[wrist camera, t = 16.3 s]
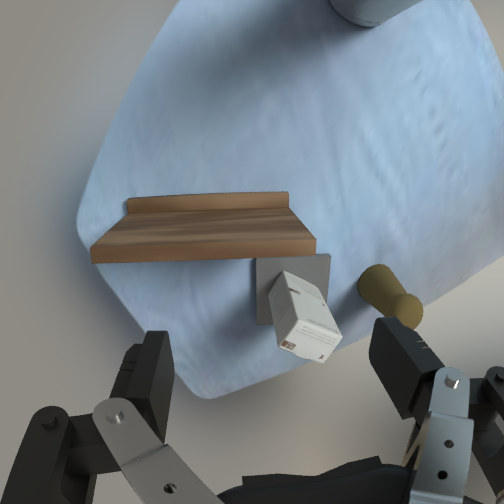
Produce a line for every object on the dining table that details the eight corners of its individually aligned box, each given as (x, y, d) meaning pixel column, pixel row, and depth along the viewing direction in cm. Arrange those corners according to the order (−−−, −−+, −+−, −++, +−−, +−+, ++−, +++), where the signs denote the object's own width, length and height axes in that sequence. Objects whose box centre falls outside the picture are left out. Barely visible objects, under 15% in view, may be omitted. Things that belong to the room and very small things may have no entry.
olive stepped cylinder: (355, 302, 47) (384, 344, 36) (360, 264, 45) (394, 301, 34) (389, 299, 47) (423, 337, 37) (396, 263, 45) (435, 296, 35)
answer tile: (255, 256, 43) (256, 259, 42) (328, 253, 44) (330, 256, 43) (256, 320, 46) (256, 324, 45) (322, 316, 47) (324, 319, 46)
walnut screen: (129, 198, 39) (86, 228, 26) (287, 191, 40) (317, 219, 27) (133, 235, 40) (95, 281, 27) (286, 229, 42) (314, 274, 29)
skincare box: (318, 286, 44) (347, 335, 33) (301, 311, 45) (324, 366, 34) (280, 268, 43) (300, 316, 31) (264, 295, 44) (277, 349, 32)
